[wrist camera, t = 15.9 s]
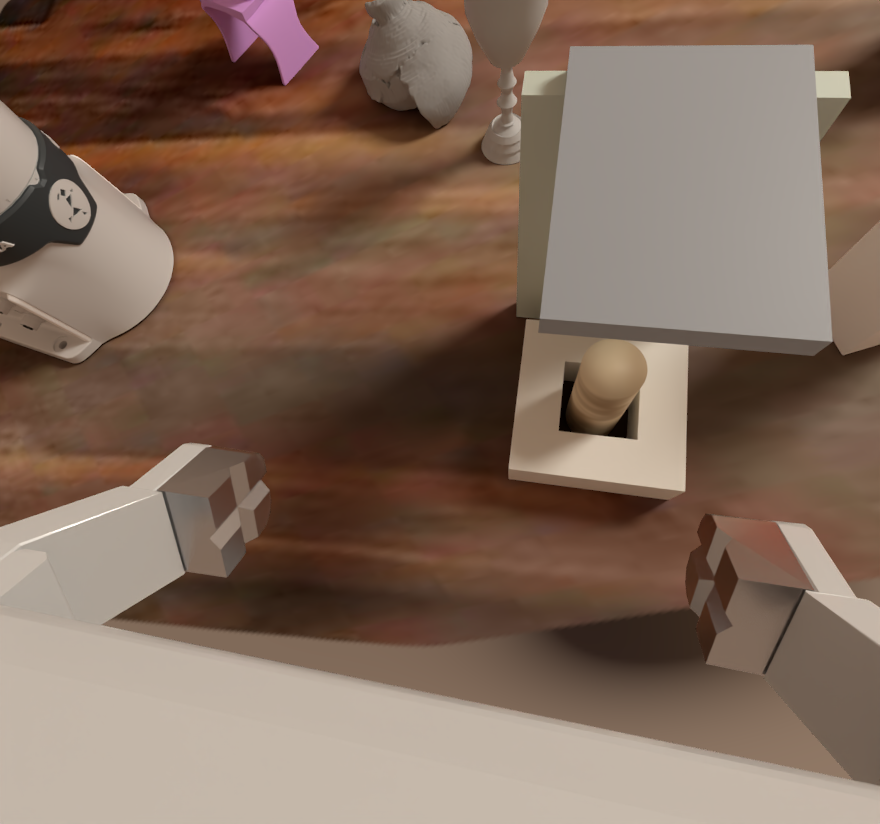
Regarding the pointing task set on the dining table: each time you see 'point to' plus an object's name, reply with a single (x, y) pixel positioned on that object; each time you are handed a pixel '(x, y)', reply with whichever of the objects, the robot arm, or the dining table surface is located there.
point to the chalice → (504, 63)
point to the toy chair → (263, 30)
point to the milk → (856, 295)
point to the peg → (605, 386)
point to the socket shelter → (664, 237)
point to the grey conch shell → (416, 59)
